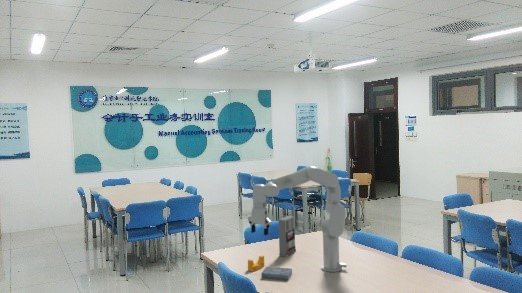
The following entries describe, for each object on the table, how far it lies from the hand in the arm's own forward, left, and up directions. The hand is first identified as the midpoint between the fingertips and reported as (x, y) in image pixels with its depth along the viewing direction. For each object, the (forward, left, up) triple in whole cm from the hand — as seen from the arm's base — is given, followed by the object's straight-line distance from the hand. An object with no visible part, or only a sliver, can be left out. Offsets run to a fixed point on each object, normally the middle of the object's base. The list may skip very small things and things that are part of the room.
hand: (259, 233), depth 242 cm
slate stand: (-10, -1, -25) cm, 27 cm away
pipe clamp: (+6, -11, -26) cm, 29 cm away
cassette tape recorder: (-7, -44, -26) cm, 51 cm away
